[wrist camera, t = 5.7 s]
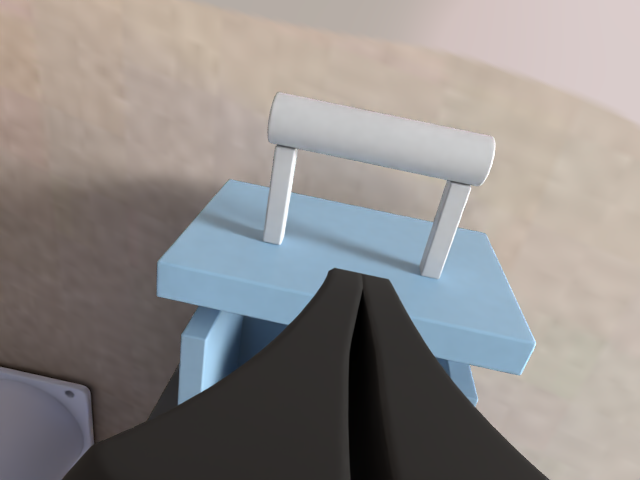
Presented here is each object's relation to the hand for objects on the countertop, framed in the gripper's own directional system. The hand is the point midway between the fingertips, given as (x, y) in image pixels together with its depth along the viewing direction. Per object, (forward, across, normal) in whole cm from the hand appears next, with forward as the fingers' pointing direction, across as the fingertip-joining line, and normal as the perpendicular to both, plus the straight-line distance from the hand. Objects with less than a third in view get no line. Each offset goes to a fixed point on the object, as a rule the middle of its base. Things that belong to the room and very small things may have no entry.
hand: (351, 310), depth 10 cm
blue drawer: (+9, 0, +5) cm, 10 cm away
